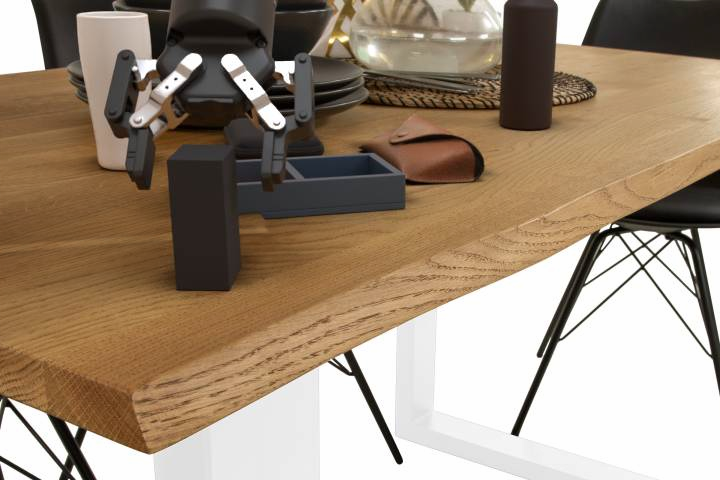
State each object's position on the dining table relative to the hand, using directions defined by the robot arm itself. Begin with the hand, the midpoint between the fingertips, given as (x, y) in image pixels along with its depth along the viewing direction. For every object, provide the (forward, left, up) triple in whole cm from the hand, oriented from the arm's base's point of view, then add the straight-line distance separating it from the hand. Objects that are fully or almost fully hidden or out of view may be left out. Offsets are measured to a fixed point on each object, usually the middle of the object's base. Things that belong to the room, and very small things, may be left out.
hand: (204, 185), depth 68 cm
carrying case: (+12, +40, -7) cm, 42 cm away
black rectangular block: (0, 0, -7) cm, 7 cm away
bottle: (+47, +49, -7) cm, 68 cm away
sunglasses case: (+26, +31, -7) cm, 41 cm away
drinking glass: (-3, +38, -7) cm, 39 cm away
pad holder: (+10, +19, -7) cm, 23 cm away
